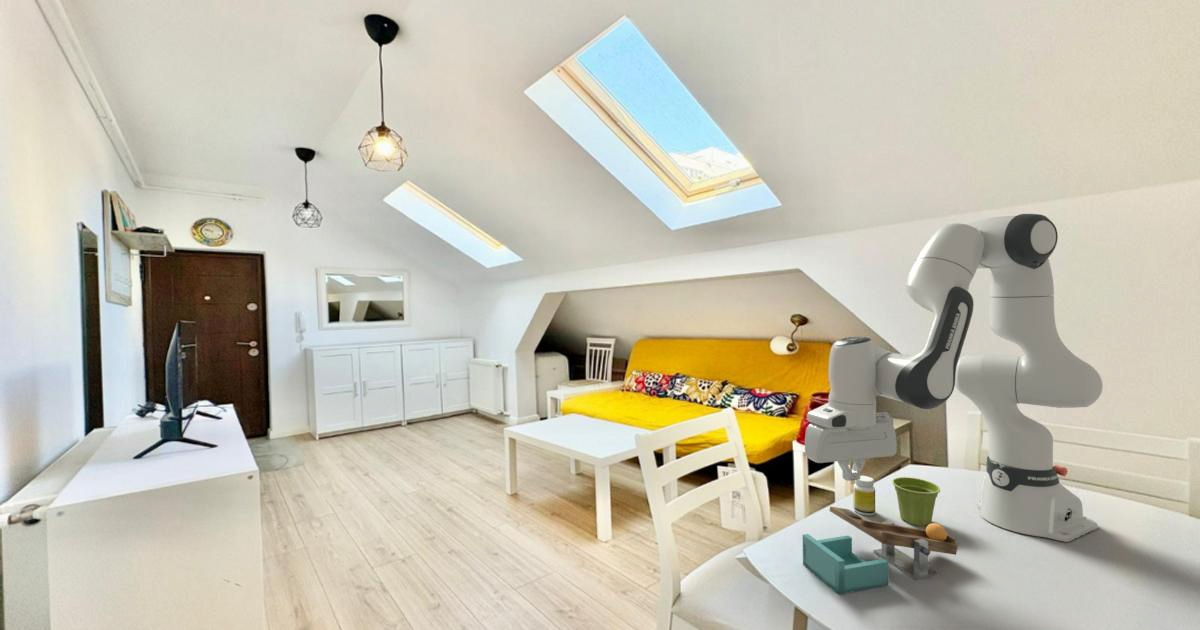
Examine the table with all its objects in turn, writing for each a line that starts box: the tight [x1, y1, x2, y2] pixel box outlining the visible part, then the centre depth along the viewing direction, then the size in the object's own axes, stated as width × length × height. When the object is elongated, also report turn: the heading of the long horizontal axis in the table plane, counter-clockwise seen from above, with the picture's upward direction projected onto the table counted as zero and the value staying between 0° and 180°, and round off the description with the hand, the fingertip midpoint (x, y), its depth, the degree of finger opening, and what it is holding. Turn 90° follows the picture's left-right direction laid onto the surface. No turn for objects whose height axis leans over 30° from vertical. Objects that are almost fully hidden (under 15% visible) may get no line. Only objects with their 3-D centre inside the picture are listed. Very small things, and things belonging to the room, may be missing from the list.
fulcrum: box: [872, 520, 938, 581], centre depth 93 cm, size 5×10×6 cm, turn 13°
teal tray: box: [802, 533, 890, 595], centre depth 90 cm, size 11×10×6 cm
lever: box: [829, 506, 959, 556], centre depth 97 cm, size 18×14×3 cm
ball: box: [925, 522, 948, 541], centre depth 94 cm, size 4×4×4 cm
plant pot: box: [891, 476, 941, 527], centre depth 110 cm, size 9×9×9 cm
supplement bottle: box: [852, 475, 876, 517], centre depth 115 cm, size 5×5×8 cm
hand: (851, 479), depth 98 cm, fingers closed
